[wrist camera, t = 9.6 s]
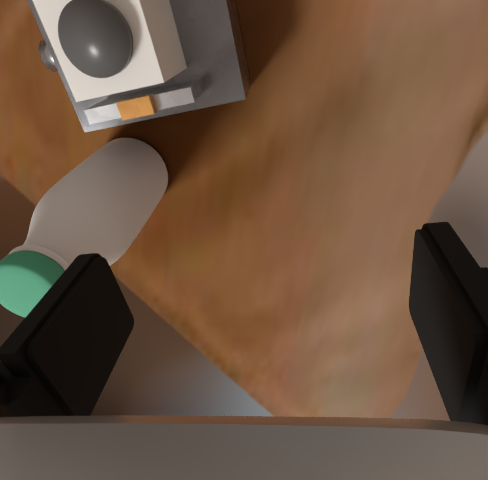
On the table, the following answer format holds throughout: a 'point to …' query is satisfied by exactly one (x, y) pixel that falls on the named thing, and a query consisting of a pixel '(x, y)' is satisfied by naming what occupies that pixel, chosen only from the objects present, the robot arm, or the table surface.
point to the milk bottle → (84, 219)
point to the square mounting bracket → (183, 84)
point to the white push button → (112, 43)
